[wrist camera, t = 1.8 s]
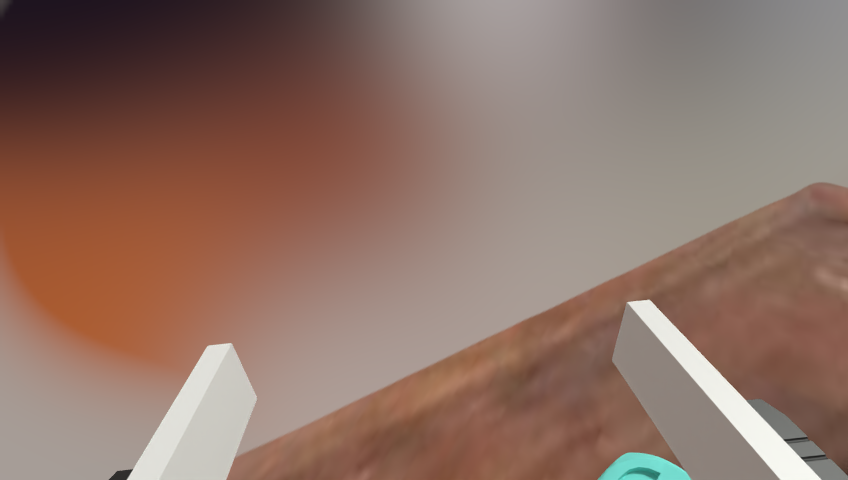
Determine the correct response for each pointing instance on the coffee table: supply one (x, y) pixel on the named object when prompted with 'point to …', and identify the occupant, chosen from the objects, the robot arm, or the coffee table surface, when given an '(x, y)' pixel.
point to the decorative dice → (643, 469)
